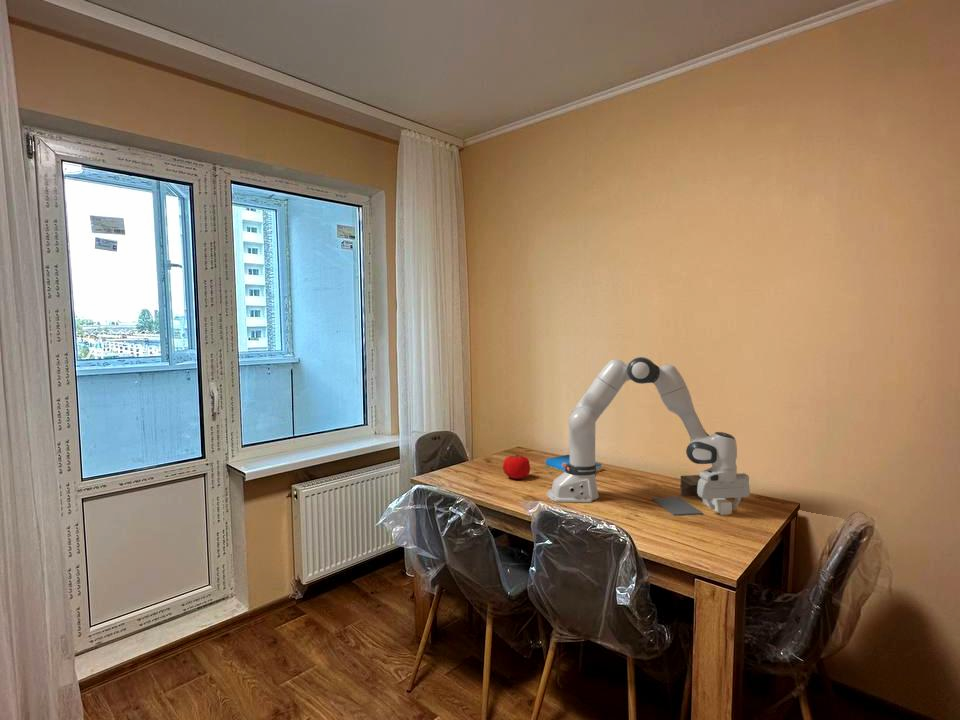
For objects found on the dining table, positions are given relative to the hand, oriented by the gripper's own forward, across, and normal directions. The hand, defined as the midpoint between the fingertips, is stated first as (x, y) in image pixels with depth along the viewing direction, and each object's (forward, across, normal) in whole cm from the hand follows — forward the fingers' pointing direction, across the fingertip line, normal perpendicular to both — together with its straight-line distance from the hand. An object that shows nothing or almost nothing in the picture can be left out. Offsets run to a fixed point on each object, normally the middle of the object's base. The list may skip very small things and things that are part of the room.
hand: (723, 508), depth 196 cm
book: (+2, +40, -71) cm, 82 cm away
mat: (+2, +15, -8) cm, 17 cm away
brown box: (+2, 0, -18) cm, 18 cm away
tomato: (+2, +73, -56) cm, 92 cm away
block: (+2, 0, -5) cm, 5 cm away
